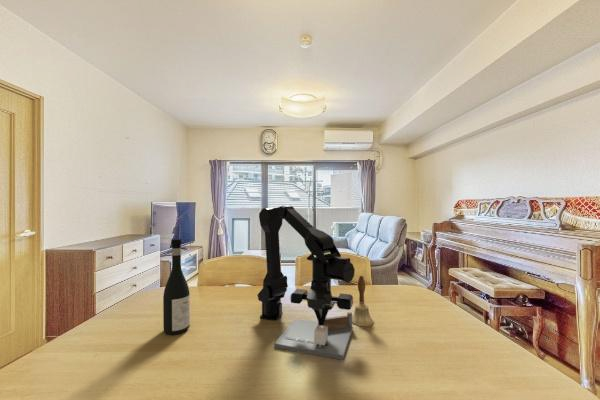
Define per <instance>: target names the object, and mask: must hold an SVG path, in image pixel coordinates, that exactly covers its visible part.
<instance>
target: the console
mask: <svg viewBox="0 0 600 400" xmlns="http://www.w3.org/2000/svg"><path fill="white" fill-rule="evenodd" d="M346 316H348V327H345V328H338V329H331V330H328V339H327V341H326V343H325V345H319V344H314V330H315V329H316V327H317V326H318V320H317V321H316V320H309V319H302V318H301V319H300V318H294V319H293V320H292V322H291V323H290V324H289V325H288V326H287V327H286V329H285V330H284V331H283V332H282V333H281V335H280V336H279V337H278V338H277V340H275V342H274V344H273V348H276V349H280V350H281V349H282V350H286V351H292V352H298V353H302V354H303V353H304V354H307V355H314V356H319V357H325V358H330V359H335V360H341V361H343V360H344V358H345V354H346V352H347V348H348V346H349V344H350V341H351V340H350V339H351V336H352V334H353V331H354V329H353V328H354V327H353V323H352V316H353V312H351V311H347V313H346Z"/></svg>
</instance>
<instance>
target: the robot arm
mask: <svg viewBox="0 0 600 400" xmlns="http://www.w3.org/2000/svg"><path fill="white" fill-rule="evenodd" d="M258 219H259V220H258V221H259V225H260V227H261V228H262V230H263V231H264V235H265V236H264V238H265V240H264V241H265V253H266V254H265V255H266V257H265V258H266V274H265V276H264V279H263V282H262V289H261V290H260V291H259V292H258V293H257V299H258V301H259V302H261V315H260V316H259V318H260V319H266V320H272V321H277V320H278V319H279V318H280V317H281V316H282V315H283V314H284V313H283V303H282V299H283V298H285V295H286V292H287V291H288V290H287V289H288V287H289V285H288V277H287V275H284V274H283V272H282V268H281V249H280V247H281V246H280V235H279V234H280V231H281V228H282V225H283V220H285V221H286V222H287V223H288V224H289V225H290V226H291V228H293V229H294V230H295V231H296V232H297V233H298V234H299V235H300V236H301V238H303V240H304V244H305V247H306V248H307V249H308V251H310V252H309V253H310V254H309V256H307V257H306V260H307V261H311V263H312V264H311V266H312V267H311V273H312V274H311V275H312V276H311V278H312V279H311V283H310V284H311V285H310V289H309V290H307V289H303V288H302V289H301V288H296V289H295V290H294V291H293V292H292V293H291V294H290V303H291V304H298V305H299V304H301V303H302V302H303V300H304V301H307V307H308V308H309V309H312V310H313V312H314V314H315V316H316V319H317V322H319V325H321V326H323V325H324V322H325V319H326V318H327V316H328V313H329V311H331V310H332V309H333V308H334V306H335V305H336V306H337V308H338V309H339V310H347V311H349V310H351V309H352V307H353V304H354V296H353V295H352V294H349V293H339V294H338V296H333V293H332V280H334V281H340V282H343V283H351V282H352V281H353V279H354V278H355V270H356V269H355V267H354V264H353V263H352V262H351V258H350V257H341V253H340V251H339V250H338V248H337V246H336V244H335V243H334V242H335V239H333V237H332V236H331V235H330V234H328V233H326V232H325V231H323V230H320V229H318V228H316V227H315V226H313V225H312V224H311V223H310V222H308V220H307V219H305V217H303V216H302V215H301V214H300V212H298V211H297V210H296V209H295V207H294V206H293V205H281V206H278V207H265V208H262V209H261V210H260V211H259V213H258Z"/></svg>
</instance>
